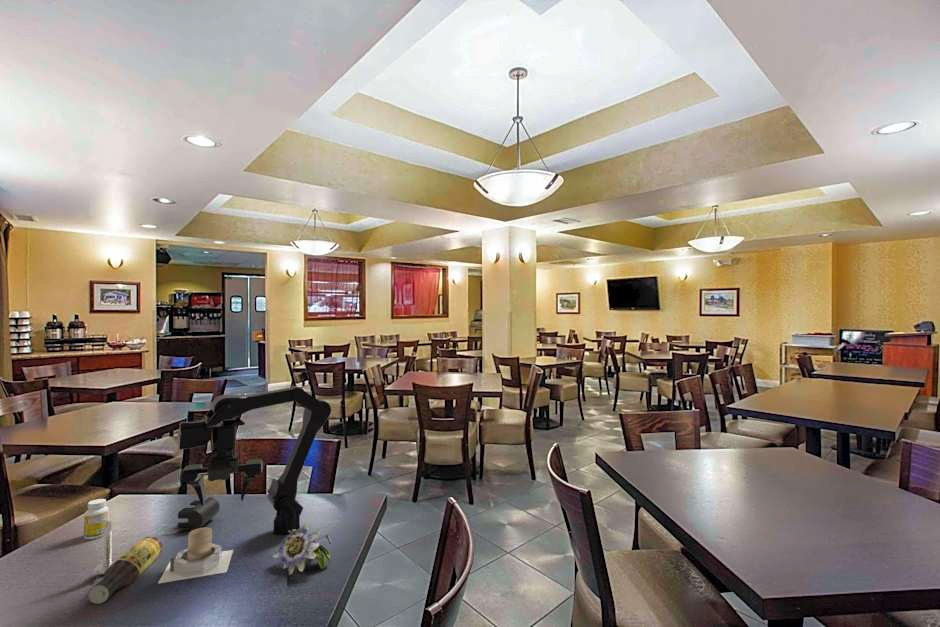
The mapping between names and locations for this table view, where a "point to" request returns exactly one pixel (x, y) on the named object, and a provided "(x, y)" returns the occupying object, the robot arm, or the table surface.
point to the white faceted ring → (195, 562)
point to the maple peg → (199, 544)
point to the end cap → (198, 514)
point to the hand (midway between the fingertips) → (222, 502)
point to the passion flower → (301, 550)
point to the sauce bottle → (126, 568)
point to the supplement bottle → (95, 519)
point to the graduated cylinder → (106, 550)
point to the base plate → (221, 568)
